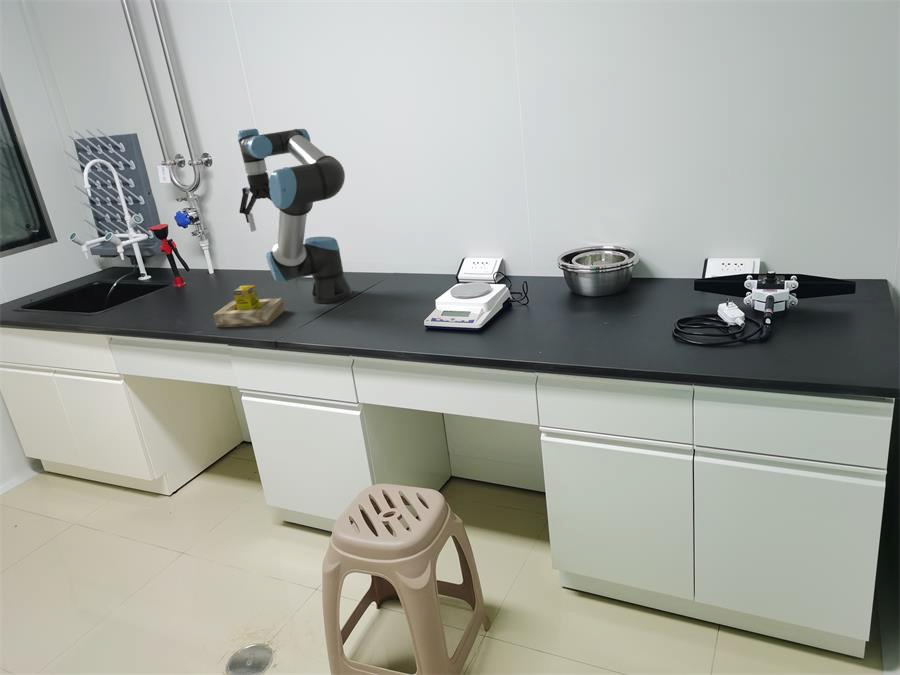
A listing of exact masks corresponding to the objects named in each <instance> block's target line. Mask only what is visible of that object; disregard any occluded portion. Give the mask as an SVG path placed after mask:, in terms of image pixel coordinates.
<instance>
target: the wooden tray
mask: <svg viewBox="0 0 900 675" xmlns="http://www.w3.org/2000/svg"><path fill="white" fill-rule="evenodd" d="M258 300H259V304H260V308H261V309H252V310H238V309H237V305H236V301H235V300H231V301H230V302H228V303H227V304H226V305H224V306H223V307H222V308H221V309H218V311H216V312H214V313H213V318H214V322H215V326H216V328H231V327H233V328H234V327H253V326H255V327H257V326H269V325H270V324H271V323H273V322H274V321H275V320H276V319H277V318H278V317H279V316H281V315H282V314H283V313H284V312H285V311H286V310H285V306H284V301H283V298H282V297H277V298H258Z"/></svg>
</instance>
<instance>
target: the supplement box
mask: <svg viewBox="0 0 900 675" xmlns="http://www.w3.org/2000/svg"><path fill="white" fill-rule="evenodd" d="M256 288H257V287H256V285H255V284H251V285H250V284H249V285H240V286H239V287H237V288H235V289H234V290H233V291H232V292H233V298H234V301H236V305H237V309H238V310H252V309H261V308H260V304H259V300H258V299H259V297H258V296H259V295H258V293H257V289H256Z"/></svg>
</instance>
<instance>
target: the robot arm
mask: <svg viewBox="0 0 900 675" xmlns="http://www.w3.org/2000/svg"><path fill="white" fill-rule="evenodd" d="M237 139H238V140H237V143H238V144H239V149H240V152H241V156H242V160H243V164H244V169H245V170H244V171H245V174H247V182H248V185H249V187H248V186H245V187H243V188H242V189H241V190H242V196H241V197H242V198H241V201H240V207H239V214H244V216H245V220H246V222H247V224H248V225H249V228H250V231H251V233H252V232H255V231H257V228H256V227H257V226H256V224H255V220H254V215H253V213H252V209H253V207H254V205H255V203H256V201H257V200H260V199H268V200H270V201H271V202H272V204H273V206H274V207H275V208H277V209H278V210H279V217H278V218H279V220H278V232H277V234H278V235H277V236H278V237H277V242H276V243H275V244H274V245H273V248H272V251H269V252H267V253H266V261H267V264H268V267H269V270H270V272H271V275H272V277H273V279H274V281H275V282H276V283H280V284H281V283H288V282H290V281H294V280H295V281H296V280H298V279H302V278H305V277H306V278H307V277H309V276H312V289H311V297H312V302H314V303H316V304H332V303H336V302H341V301H343V300H346V299H349V298H350V297H351V296H352V294H353V291H352V287H351V285H350V283H349V281H348V280H347V278H346V276H345V274H344V269H343V268H344V267H343V263H342V257H341V252H340V246H339V243H338V240H337V239H336V238H335V237H332V236H312V237H307V238H306V239H305V231H306V226H307V225H306V222H307V214H309V213H310V211H312V209H313V204H314V203H315V202H319V201H326V200H328V199H331V198H333V197H335V196H336V195H338V193H340V191H341V190H342V188H343V186H344V183H345V179H346V174H345V170H344V167H343V165H342V164H341V162H340V161H339V160H338V159H337V158H335V157H333V156H331V155H327V154H325V153H324V152H323V151H322V150H320V148H318V147H317V146H315V145H314V144H313V143H312V142H311V137H310V134H309V132H308V131H307V129H305V128H294V129H290V130H289V129H288V130H284V131H277V132H270V133H264V134H259V130H258V129H257V128H249V129H248V128H247V129H241V130H238V131H237ZM284 154H291V155H292V156H293V157H294V158H295V159H297V161H298V162H300V163H301V164H300V165H295V166H290V167H289V166H288V167H287V166H286V167H282V168H279V169H274V171H272V172H271V174H270V176H269V173H268V172H267V171H268V169H267V165H266V160H265V159H267V158H268V157H272V156H278V155H284ZM250 193H251V197H250V200H248V199H249V194H250Z"/></svg>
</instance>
